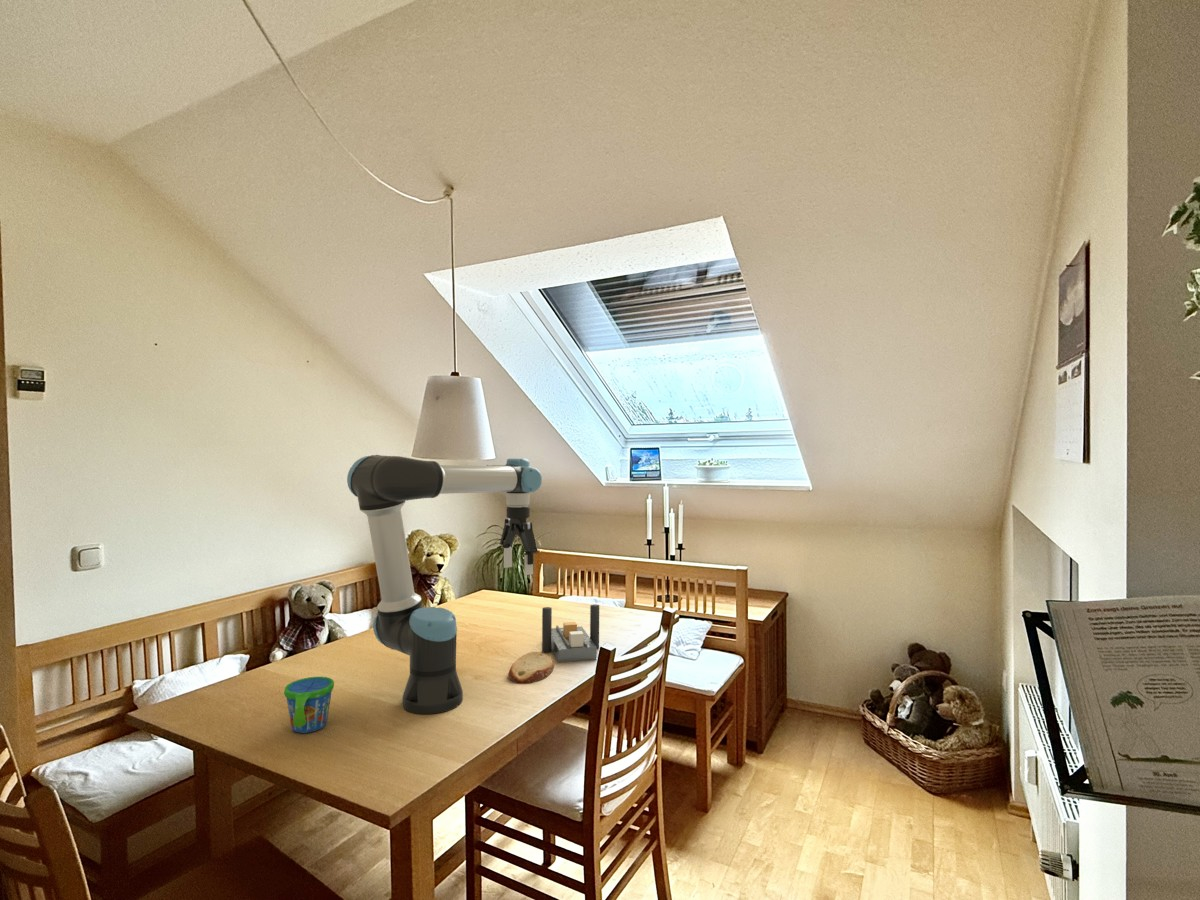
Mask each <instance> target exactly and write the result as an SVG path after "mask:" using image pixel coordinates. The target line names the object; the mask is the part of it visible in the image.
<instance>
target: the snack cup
mask: <svg viewBox="0 0 1200 900" xmlns="http://www.w3.org/2000/svg"><path fill="white" fill-rule="evenodd" d="M334 687H335V681H334V679H332V678H331V677H327V676H312V677H305V678H300V679H296V680H294V681H292V682H290V683H288V684H287V685H286V686H285V687H284V692H283V695H284V696H285V698H286V703H287V709H288V715H289V721H290V728H291V730H292V732H295V733H300V734H307V733H313V732H315V731H318V730H322V729H323V728H324V727H325V726H326V725H327V722H328V718H329V713H330V711H329V710H330V706H331V700H332V693H333V689H334Z"/></svg>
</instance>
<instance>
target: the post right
mask: <svg viewBox="0 0 1200 900" xmlns="http://www.w3.org/2000/svg"><path fill="white" fill-rule="evenodd" d="M589 607H590V609H589V610H590V611H589V612H590V613H589V616H590V617H589V618H590V619H589V637H590V639H591V640H592V641H593V643H594V644H595V645H596V647H597V650H598V649H600V604H590V605H589Z"/></svg>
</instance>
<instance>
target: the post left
mask: <svg viewBox="0 0 1200 900" xmlns="http://www.w3.org/2000/svg"><path fill="white" fill-rule="evenodd" d="M541 611H542V612H541V613H542V614H541V615H542V619H541V621H542V622H541V624H542V625H541V626H542V627H541V628H542V629H541V630H542V631H541V635H542V636H541V653H543V652H544V653H543V654H549V652H550V653H551V652H552V648H551V628H552V622H553V621H552V619H553V618H552V615H553V614H552V607H549V606H545V607H542V610H541Z"/></svg>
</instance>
